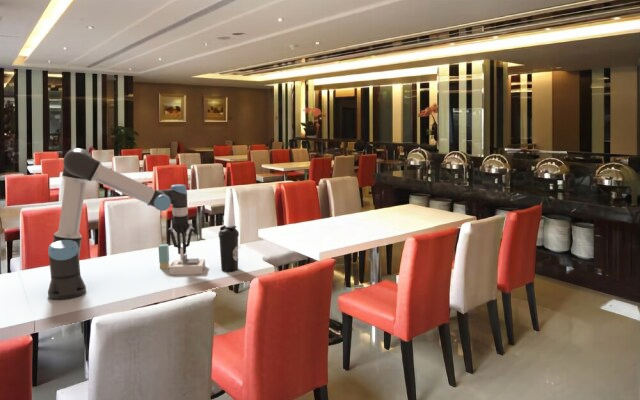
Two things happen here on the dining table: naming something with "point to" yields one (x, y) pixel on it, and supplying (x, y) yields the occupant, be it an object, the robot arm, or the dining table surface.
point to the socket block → (187, 267)
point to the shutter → (189, 260)
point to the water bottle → (229, 248)
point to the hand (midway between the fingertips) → (182, 259)
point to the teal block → (164, 255)
